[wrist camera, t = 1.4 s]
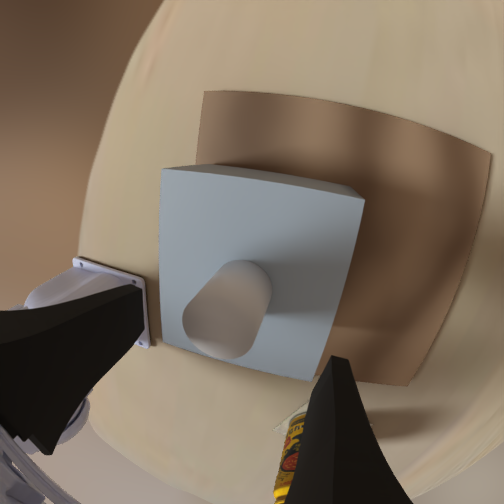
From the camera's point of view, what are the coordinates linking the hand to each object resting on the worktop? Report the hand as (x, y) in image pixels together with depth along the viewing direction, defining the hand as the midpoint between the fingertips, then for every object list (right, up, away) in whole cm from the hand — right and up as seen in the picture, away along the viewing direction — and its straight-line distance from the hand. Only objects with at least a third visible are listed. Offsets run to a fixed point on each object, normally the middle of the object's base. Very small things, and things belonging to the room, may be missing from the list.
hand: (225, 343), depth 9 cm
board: (+6, +3, +9) cm, 11 cm away
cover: (+2, +3, +9) cm, 9 cm away
